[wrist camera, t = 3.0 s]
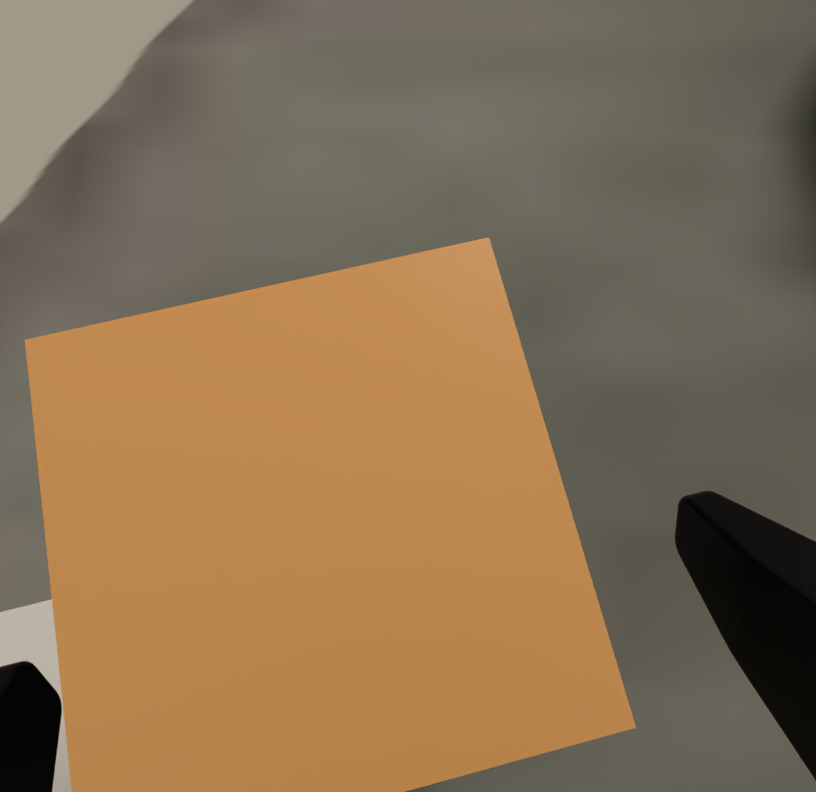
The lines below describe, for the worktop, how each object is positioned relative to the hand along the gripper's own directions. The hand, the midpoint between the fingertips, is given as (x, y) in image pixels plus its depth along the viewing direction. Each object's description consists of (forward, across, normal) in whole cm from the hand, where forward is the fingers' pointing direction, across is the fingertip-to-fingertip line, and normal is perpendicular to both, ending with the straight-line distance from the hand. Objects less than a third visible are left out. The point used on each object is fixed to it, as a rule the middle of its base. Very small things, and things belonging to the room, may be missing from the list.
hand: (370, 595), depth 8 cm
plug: (+7, 0, +5) cm, 9 cm away
